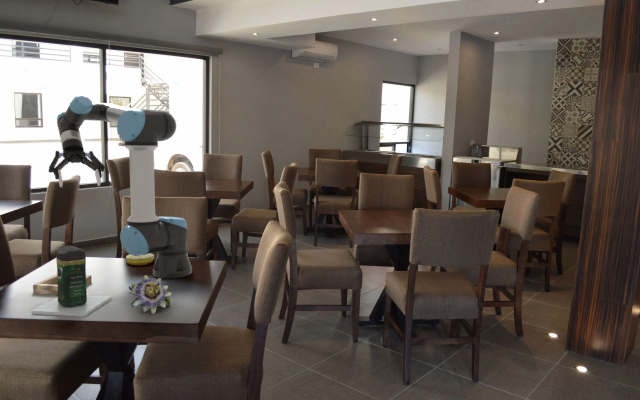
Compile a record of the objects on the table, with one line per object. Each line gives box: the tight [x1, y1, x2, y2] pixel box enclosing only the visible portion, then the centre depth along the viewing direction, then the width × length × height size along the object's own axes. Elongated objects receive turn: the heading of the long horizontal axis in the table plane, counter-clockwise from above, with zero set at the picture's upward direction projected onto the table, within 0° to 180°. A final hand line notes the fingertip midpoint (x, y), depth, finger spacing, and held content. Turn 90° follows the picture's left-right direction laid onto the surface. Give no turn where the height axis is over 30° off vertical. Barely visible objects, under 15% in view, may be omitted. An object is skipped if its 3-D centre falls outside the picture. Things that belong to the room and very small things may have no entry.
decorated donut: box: [125, 253, 155, 266], centre depth 225 cm, size 11×12×4 cm
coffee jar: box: [55, 245, 87, 307], centre depth 167 cm, size 10×8×19 cm
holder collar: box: [32, 273, 92, 296], centre depth 187 cm, size 13×15×3 cm
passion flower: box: [128, 274, 172, 316], centre depth 167 cm, size 13×12×14 cm
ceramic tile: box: [31, 295, 112, 318], centre depth 168 cm, size 17×17×1 cm
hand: (80, 184), depth 201 cm, fingers open, 13 cm apart
